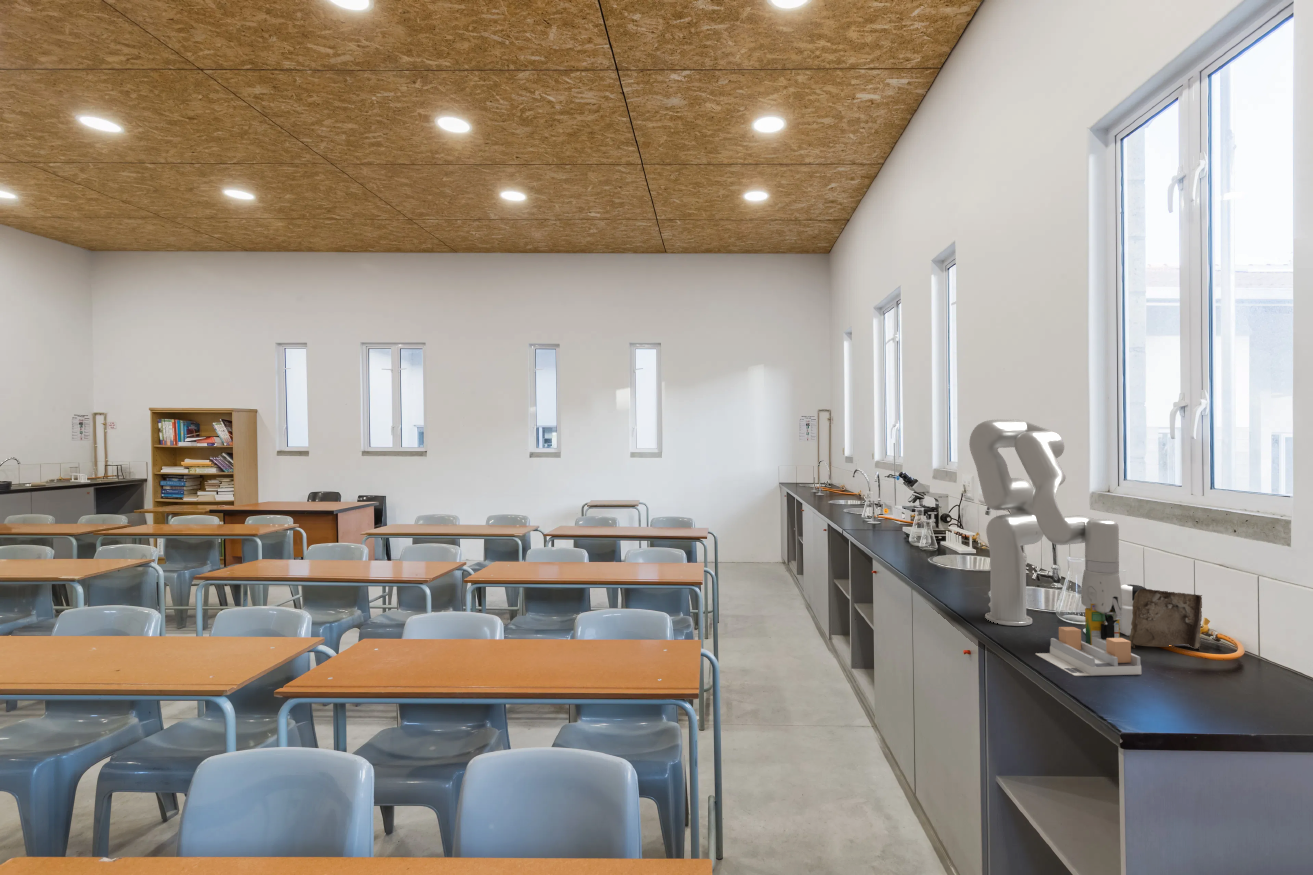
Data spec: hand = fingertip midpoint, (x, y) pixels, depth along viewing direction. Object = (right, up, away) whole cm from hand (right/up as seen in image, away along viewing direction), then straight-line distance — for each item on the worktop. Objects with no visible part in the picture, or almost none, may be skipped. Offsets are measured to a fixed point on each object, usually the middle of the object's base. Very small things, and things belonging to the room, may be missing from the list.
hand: (1102, 636), depth 185 cm
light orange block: (-8, -1, -18) cm, 20 cm away
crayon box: (0, -3, 0) cm, 3 cm away
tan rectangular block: (-13, -1, -8) cm, 16 cm away
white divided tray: (-12, -3, -13) cm, 19 cm away
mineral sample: (+15, -3, -1) cm, 15 cm away
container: (+17, -3, +13) cm, 21 cm away
